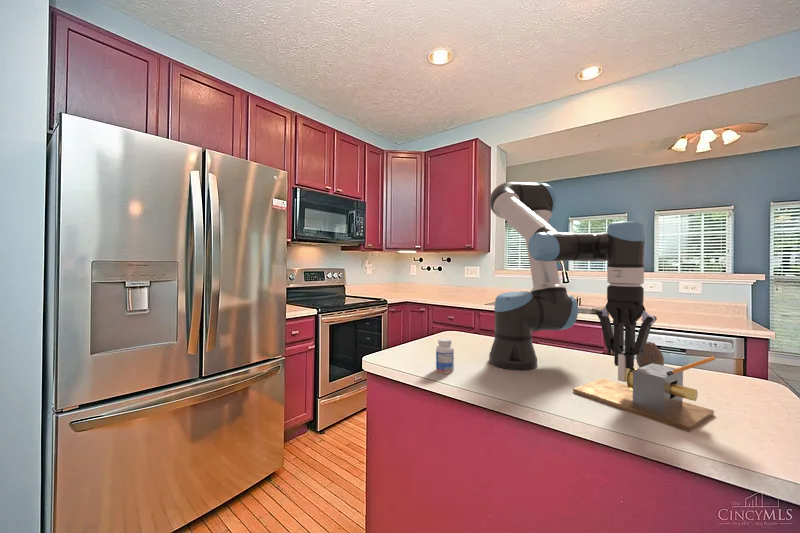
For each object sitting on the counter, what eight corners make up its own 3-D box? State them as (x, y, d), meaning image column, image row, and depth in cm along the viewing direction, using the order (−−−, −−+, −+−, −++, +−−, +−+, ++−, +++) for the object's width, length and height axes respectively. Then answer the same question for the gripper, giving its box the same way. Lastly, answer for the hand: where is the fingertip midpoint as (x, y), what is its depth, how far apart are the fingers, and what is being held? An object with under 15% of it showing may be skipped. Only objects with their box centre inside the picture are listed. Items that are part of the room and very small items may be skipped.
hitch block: (573, 392, 88) (573, 354, 88) (601, 381, 96) (602, 346, 96) (688, 432, 68) (689, 382, 68) (713, 414, 76) (714, 370, 75)
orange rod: (673, 374, 74) (671, 370, 75) (681, 370, 77) (679, 367, 77) (711, 361, 69) (709, 358, 69) (719, 357, 71) (716, 354, 72)
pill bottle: (439, 367, 109) (440, 336, 109) (456, 369, 107) (456, 338, 107) (433, 372, 104) (433, 340, 104) (450, 374, 102) (450, 342, 102)
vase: (639, 373, 103) (639, 344, 103) (633, 366, 110) (634, 339, 109) (667, 376, 101) (667, 346, 100) (659, 369, 107) (660, 341, 107)
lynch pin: (626, 391, 82) (626, 369, 82) (636, 386, 85) (637, 365, 84) (690, 410, 71) (690, 385, 71) (699, 404, 74) (700, 380, 74)
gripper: (590, 283, 88) (589, 375, 88) (648, 287, 77) (646, 391, 77) (605, 282, 92) (604, 370, 92) (662, 286, 81) (661, 385, 81)
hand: (623, 380), depth 85 cm, fingers closed
